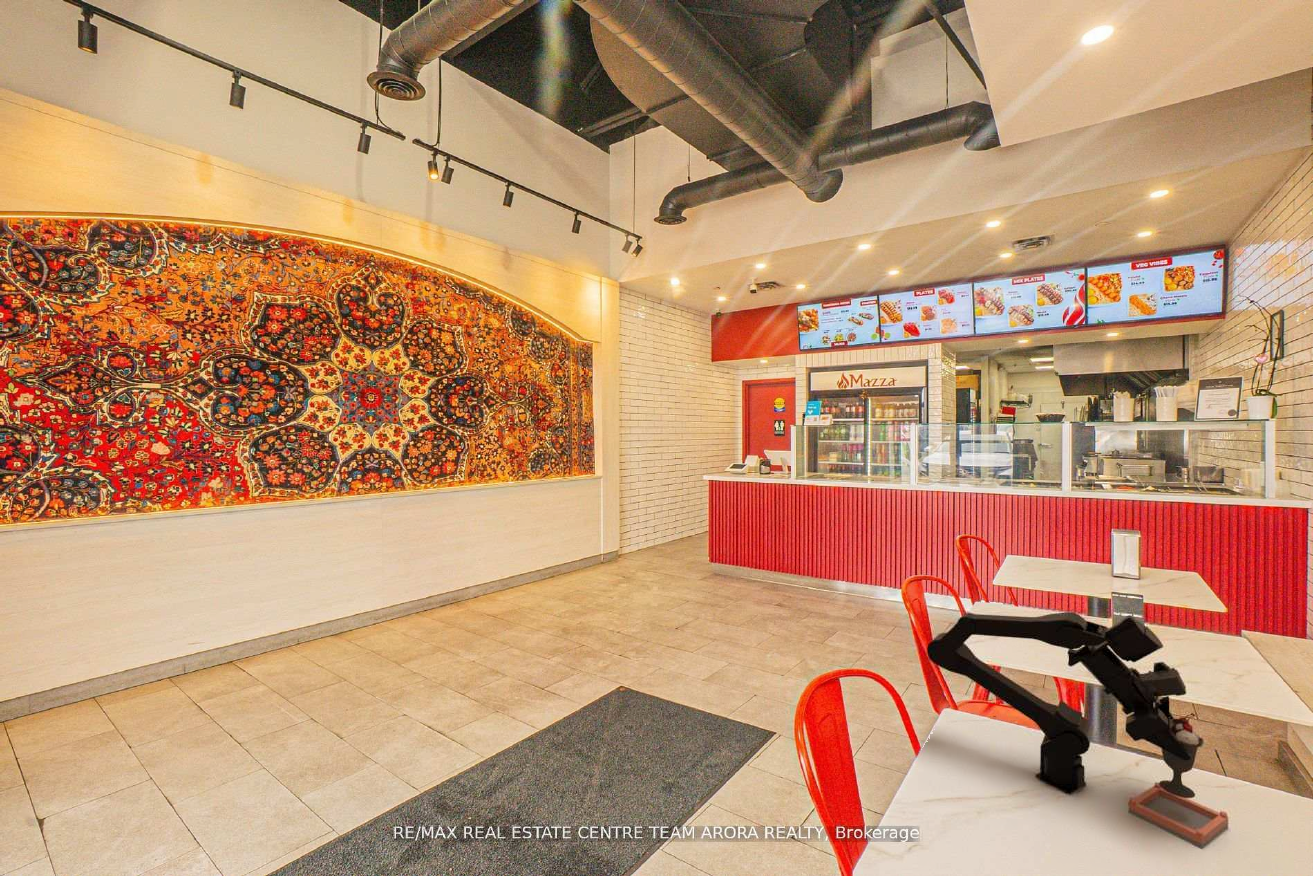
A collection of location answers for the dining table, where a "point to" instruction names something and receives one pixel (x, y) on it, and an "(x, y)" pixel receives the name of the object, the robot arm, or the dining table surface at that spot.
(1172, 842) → the dining table surface
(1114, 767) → the dining table surface
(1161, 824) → the baseplate
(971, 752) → the dining table surface
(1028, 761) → the dining table surface
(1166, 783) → the sundae
